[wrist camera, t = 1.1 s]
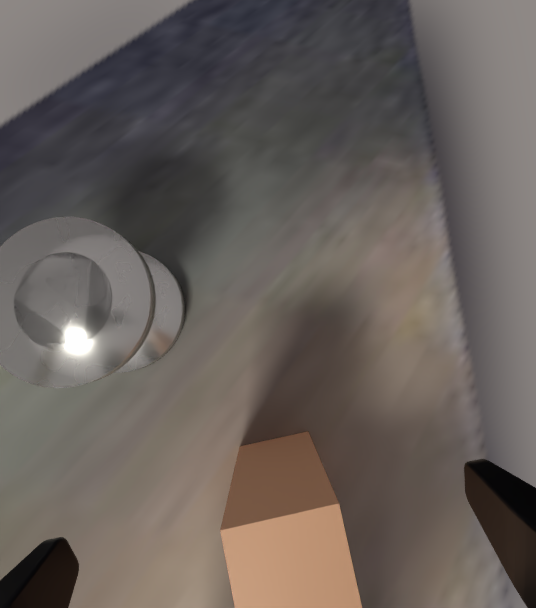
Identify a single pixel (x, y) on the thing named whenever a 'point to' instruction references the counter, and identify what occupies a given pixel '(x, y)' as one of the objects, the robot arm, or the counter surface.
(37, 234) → the bobbin
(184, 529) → the counter surface
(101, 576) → the counter surface
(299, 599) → the tab block
